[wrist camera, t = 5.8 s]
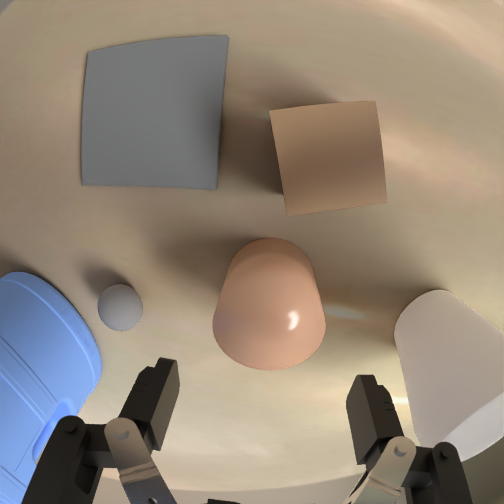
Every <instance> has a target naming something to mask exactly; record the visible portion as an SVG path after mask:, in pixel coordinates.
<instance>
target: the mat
mask: <svg viewBox="0 0 504 504" xmlns="http://www.w3.org/2000/svg"><path fill="white" fill-rule="evenodd" d="M228 43H229V37H228V35H224V36H192V37H177V38H167V39H157V40H149V41H142V42H136V43H130V44H124V45H118V46H113V47H108V48H104V49H99V50H95V51H91V52H89V53H88V60H87V67H86V76H85V86H84V97H83V112H82V143H81V157H82V185H105V186H146V187H170V188H189V189H205V190H216V189H217V182H218V165H219V149H220V134H221V120H222V107H223V95H224V84H225V73H226V62H227V52H228Z"/></svg>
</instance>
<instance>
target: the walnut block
mask: <svg viewBox="0 0 504 504" xmlns="http://www.w3.org/2000/svg"><path fill="white" fill-rule="evenodd" d="M269 114H270V120H271V125H272V131H273V136H274V141H275V147H276V153H277V158H278V164H279V170H280V176H281V182H282V188H283V194H284V200H285V206H286V212H287V216H292V215H299V214H306V213H313V212H320V211H328V210H335V209H343V208H350V207H358V206H366V205H374V204H382V203H387V197H386V183H385V171H384V160H383V151H382V143H381V135H380V128H379V121H378V114H377V108H376V102H375V101H355V102H340V103H328V104H318V105H308V106H300V107H292V108H285V109H278V110H271V111H269Z"/></svg>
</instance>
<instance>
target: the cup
mask: <svg viewBox="0 0 504 504" xmlns="http://www.w3.org/2000/svg"><path fill="white" fill-rule="evenodd" d="M394 339H395V343H396V347H397V351H398V355H399V359H400V363H401V367H402V372H403V376H404V381H405V385H406V390H407V395H408V400H409V405H410V411H411V416H412V422H413V427H414V431H415V433H416V436H417V438H418V440H419V442H420V444H421V447H428V448H434V447H435V445H436V444H438V443H440V442H449V443H451V444H453V445H454V446H455V447H456V449H457V451H458V454H459V457H460V460H461V462H462V461H465V460H467V459H469V458H471V457H473V456H475V455H477V454H479V453H480V452H482V451H484V450H485V449H487V448H488V447H490V446H491V445H492V444H494V443H495V442H497V441H498V440H499V439H501V438H502V437H503V436H504V333H503V332H501V331H500V330H499V329H498V328H496V327H495V326H494V325H493V324H491V323H490V322H489V321H488V320H486V319H485V318H484V317H483V316H481V315H480V314H479V313H477V312H476V311H475V310H474V309H472V308H471V307H470V306H468V305H467V304H466V303H464V302H463V301H462V300H460V299H459V298H458V297H456V296H455V295H454V294H452V293H451V292H449V291H446V290H433V291H429V292H427V293H425V294H422V295H421V296H419V297H418V298H416V299H415V300H413V301H412V302H411V303H410V304H409V305H408V306H407V307H406V308H405V309H404V311H403V312H402V313H401V315H400V317H399V318H398V320H397V323H396V326H395V330H394Z"/></svg>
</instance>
